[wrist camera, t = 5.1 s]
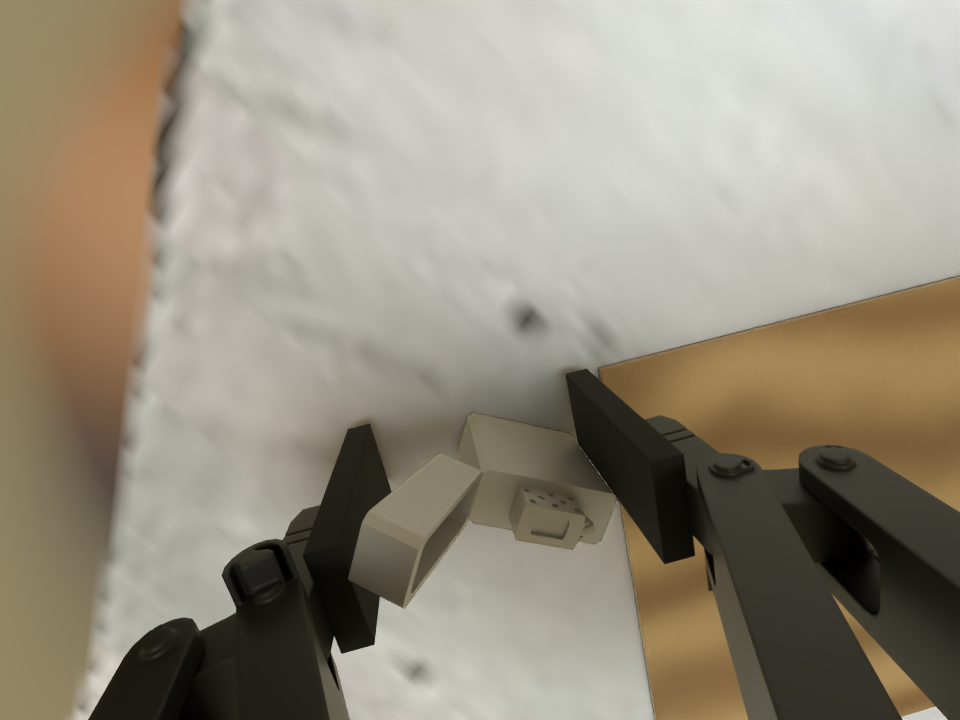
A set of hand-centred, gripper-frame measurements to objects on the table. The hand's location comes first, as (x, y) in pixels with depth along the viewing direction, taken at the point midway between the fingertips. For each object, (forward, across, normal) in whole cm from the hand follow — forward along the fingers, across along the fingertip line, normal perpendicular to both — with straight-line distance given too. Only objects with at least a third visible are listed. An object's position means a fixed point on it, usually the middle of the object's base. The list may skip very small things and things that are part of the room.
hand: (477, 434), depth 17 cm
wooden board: (+1, -13, +10) cm, 16 cm away
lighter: (+1, 0, 0) cm, 1 cm away
